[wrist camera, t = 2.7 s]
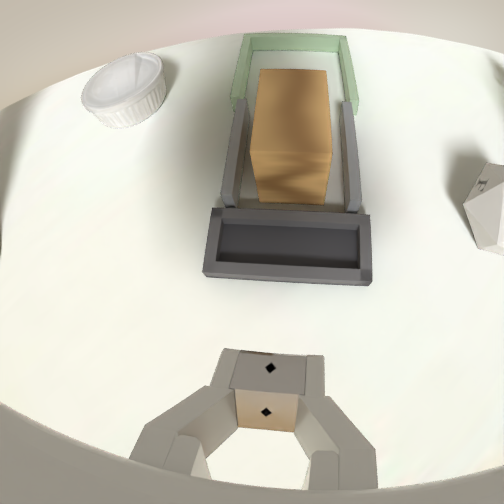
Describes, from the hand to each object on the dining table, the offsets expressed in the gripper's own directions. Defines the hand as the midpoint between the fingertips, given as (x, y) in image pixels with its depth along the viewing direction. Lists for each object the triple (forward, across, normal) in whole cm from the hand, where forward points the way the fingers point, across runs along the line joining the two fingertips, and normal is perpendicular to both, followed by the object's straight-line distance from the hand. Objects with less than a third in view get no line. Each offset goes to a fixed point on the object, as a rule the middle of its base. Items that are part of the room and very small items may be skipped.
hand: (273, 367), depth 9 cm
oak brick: (+26, 0, -2) cm, 26 cm away
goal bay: (+36, 0, -12) cm, 38 cm away
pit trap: (+19, 0, +4) cm, 19 cm away
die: (+22, -20, +2) cm, 30 cm away
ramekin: (+33, +22, -9) cm, 40 cm away
